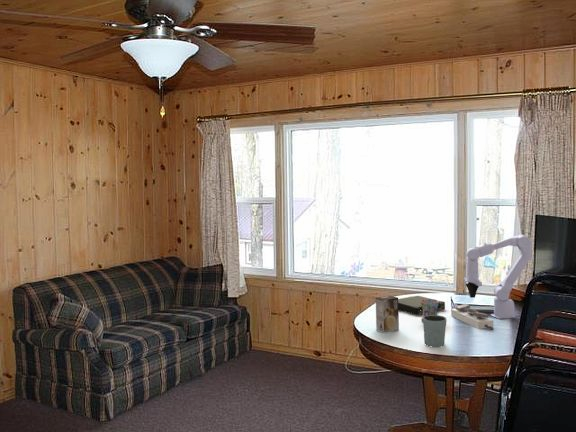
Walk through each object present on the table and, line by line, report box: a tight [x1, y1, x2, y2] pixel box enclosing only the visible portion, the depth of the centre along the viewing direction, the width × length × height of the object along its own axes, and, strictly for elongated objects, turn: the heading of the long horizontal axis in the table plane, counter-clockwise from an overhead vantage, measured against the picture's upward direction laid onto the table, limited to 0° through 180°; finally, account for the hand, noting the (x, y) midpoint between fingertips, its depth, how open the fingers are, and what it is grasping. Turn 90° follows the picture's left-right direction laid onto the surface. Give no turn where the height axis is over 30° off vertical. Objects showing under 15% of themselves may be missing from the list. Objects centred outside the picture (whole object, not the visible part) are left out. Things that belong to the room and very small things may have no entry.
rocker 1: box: [455, 303, 471, 311], centre depth 295 cm, size 6×4×2 cm, turn 102°
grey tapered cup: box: [422, 314, 448, 348], centre depth 251 cm, size 10×10×12 cm
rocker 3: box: [473, 311, 489, 318], centre depth 280 cm, size 6×4×2 cm, turn 103°
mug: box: [420, 298, 440, 322], centre depth 290 cm, size 12×9×11 cm
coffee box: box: [375, 295, 400, 333], centre depth 275 cm, size 9×6×16 cm
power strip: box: [450, 308, 494, 331], centre depth 285 cm, size 8×32×4 cm, turn 13°
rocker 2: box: [464, 307, 479, 313], centre depth 287 cm, size 6×4×2 cm, turn 104°
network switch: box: [398, 295, 446, 316], centre depth 316 cm, size 23×23×5 cm
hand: (472, 297), depth 297 cm, fingers closed
